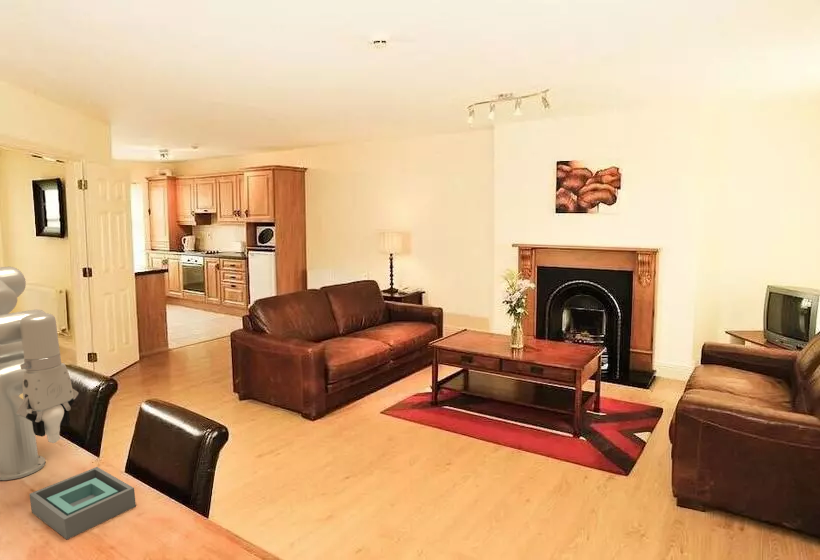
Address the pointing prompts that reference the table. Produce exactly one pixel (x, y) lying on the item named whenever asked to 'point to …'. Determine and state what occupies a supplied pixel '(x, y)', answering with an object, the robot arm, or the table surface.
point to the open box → (82, 501)
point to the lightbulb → (52, 422)
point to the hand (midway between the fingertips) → (52, 429)
